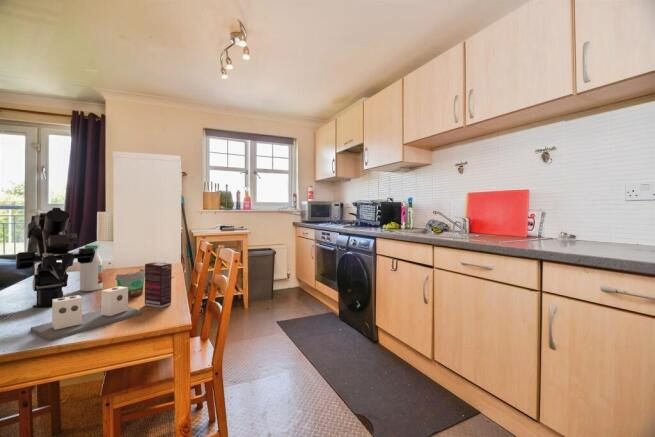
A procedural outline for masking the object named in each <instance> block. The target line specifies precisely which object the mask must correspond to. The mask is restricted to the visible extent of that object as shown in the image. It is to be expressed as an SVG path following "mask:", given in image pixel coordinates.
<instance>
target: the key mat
mask: <svg viewBox="0 0 655 437" xmlns="http://www.w3.org/2000/svg"><path fill="white" fill-rule="evenodd" d="M142 314H143V311H142V310H140V309H137V308H133V307H130V306H128V310H127V311H124V312H121V313H118V314H115V315H112V316H106V315H101V309H99V310H95V311H91V312H88V313H84V314H83V313H82V324H79V325H75V326H70V327H66V328H61V329H57V330H54V328H53V327H52V321H50V322H47V323H43V324H40V325H34V326H31V327H30V332H32V333H34V334H36V335H38V336H39V337H41V338H43V339H44V340H46V341H48V342H51V341H52V342H53V341H55V340H58V339H62V338H64V337H68V336H71V335H75V334H78V333H82V332H86V331H89V330H93V329H96V328H98V327H102V326H106V325H109V324H112V323H116V322H119V321H123V320H126V319H130V318H133V317H136V316H140V315H142Z"/></svg>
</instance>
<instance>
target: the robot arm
mask: <svg viewBox="0 0 655 437" xmlns="http://www.w3.org/2000/svg"><path fill="white" fill-rule="evenodd" d="M70 223H71V218H70V213H68V212H67V211H65V210H62V209H61V207H52V209H51V210H49V211H47V212H40V213H39V214H36V215H35V216H34V219H33V220H32V221H31V222H29V223H28V224H27V229H26V239H29V243H30V244H31V245H33V246H35V247H36V250H37V255H36V251H32V250H31V251H20V252H18V253H16V256H15V269H16V270H29V269H32V268H33V267H34V264H35V263H36V264H38V265H37V267H36V273H35V274H33V280H32V290H33V291H34V292H36V304H34V305H32V308H52V299H58V298H64V291H63V288H67V287H68V280H69V274H68V273H67V269H68V268H69V267H72V266H73V265H74V261H75V260H76V259H77V263H79V264H83V263H91V262H93V258H94V255H95V250H94V249H93V248H85V247H79V249H78V251H77V252H76V251H74V252H70V251H71V245H74V244H75V245H76V244H77V243H78V236H77V233H69V234H66V231H67V229H68V225H69V224H70Z"/></svg>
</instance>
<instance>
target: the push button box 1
mask: <svg viewBox="0 0 655 437" xmlns="http://www.w3.org/2000/svg"><path fill="white" fill-rule="evenodd" d="M100 297H101V299H100V300H101V302H100V303H101V306H100V310H101V315H106V316H112V315H115V314H118V313H121V312H124V311H127V310H128V307H129V298H128V287H122V286H116V287H115V286H114V287H111V288H110V287H109V288H107V289H103V290H101V296H100Z"/></svg>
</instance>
